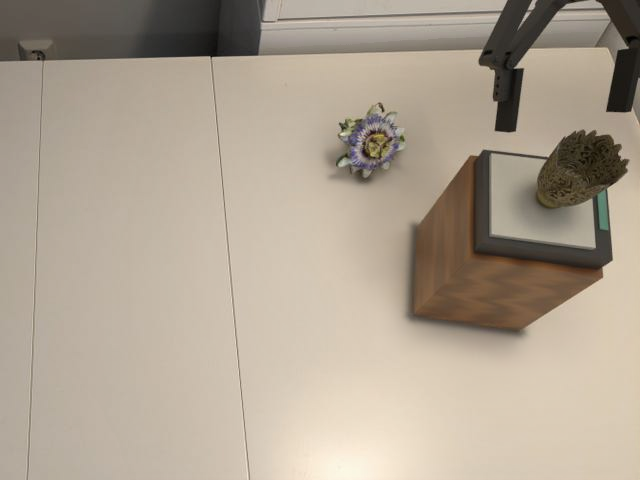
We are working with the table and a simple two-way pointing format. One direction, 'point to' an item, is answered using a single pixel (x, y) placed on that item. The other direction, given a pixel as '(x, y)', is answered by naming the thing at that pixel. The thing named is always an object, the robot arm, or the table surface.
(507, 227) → the kitchen scale
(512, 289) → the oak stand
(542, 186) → the sea sponge
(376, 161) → the passion flower
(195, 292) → the table surface
